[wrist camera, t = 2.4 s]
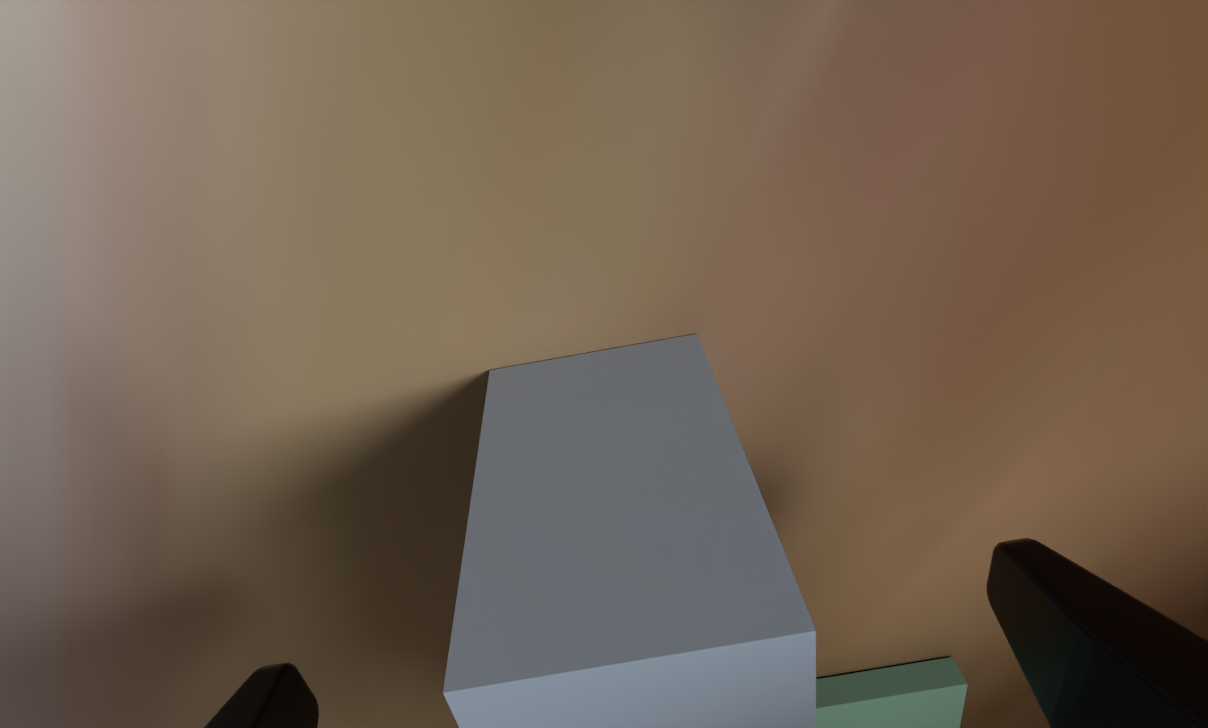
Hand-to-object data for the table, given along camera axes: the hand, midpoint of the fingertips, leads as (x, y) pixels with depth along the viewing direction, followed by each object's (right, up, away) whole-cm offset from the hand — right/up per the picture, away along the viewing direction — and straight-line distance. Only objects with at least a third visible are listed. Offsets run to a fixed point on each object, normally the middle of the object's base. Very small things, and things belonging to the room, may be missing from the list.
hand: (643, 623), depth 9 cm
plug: (0, +1, +2) cm, 3 cm away
